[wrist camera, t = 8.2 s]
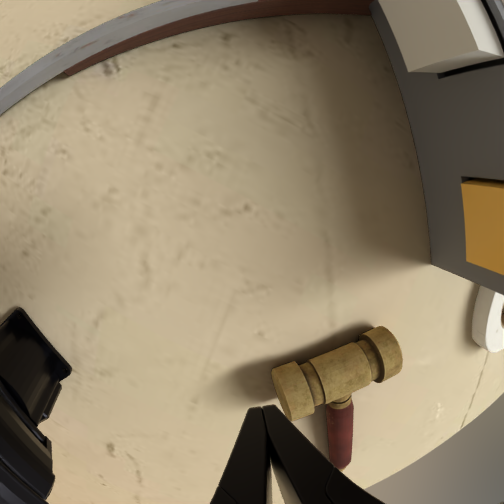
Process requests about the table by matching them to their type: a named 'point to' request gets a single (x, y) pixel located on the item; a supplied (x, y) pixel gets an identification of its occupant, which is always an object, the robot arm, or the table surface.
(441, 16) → the grey button
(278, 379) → the gavel
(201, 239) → the table surface
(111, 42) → the brown and grey bar
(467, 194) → the amber button
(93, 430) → the table surface
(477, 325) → the roll of tape
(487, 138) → the console
